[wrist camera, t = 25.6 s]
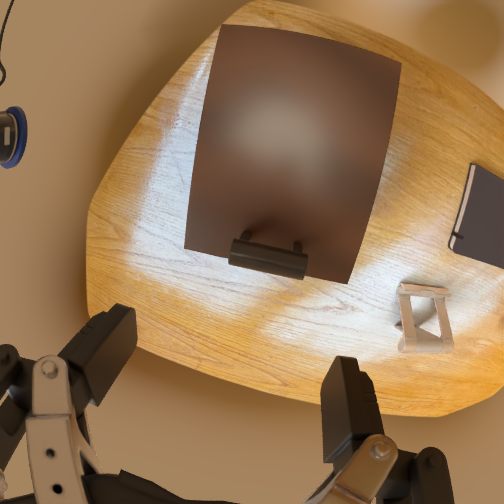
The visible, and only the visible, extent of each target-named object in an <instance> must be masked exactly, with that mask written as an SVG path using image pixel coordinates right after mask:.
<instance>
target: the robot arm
mask: <svg viewBox="0 0 504 504" xmlns="http://www.w3.org/2000/svg"><path fill="white" fill-rule="evenodd" d="M13 2H14V0H12V1H11V3H10V6H9V9H8V11H7V14H6V17H5V20H4V23H3V26H2V30H1V34H0V49H1V42H2V37H3V32H4V29H5V25H6V22H7V19H8V16H9V13H10V10H11V7H12V5H13ZM0 69H1V71H2V73H3V77H2V80H1V82H0V86H1V85H2V83H3V82H4V81H5V78H6V71H5V69H4V67H3V65H2V64H1V61H0ZM18 143H19V123H18V119H17V117H16V116H15V115H14V114H12V113H9V112H8V111H1V112H0V163H6V162H9V161H11V160H12V159H13V157H14V155H15V153H16V151H17V147H18ZM137 339H138V336H137V325H136V312H135V309H134V308H131V307H128V306H125V305H122V304H119V303H116V304H115V305H114V306H113V307H112V308H111V309H110V310H109V311H108V312H104V311H103V312H101V313H99V314H97V315H95V316H93V317H92V318H91V319H90V320H89V321H88V322H87V323H86V325H85V326H84V327H83V328H82V329H81V330H80V332H78V333H77V334H76V335H75V336H74V337H73V338H72V340H71V341H70V342H69V343H68V344H67V345H66V346H65V347H64V348H63V350H62V351H61V352H60V353H59V354H58V355H57V356H55V355H47V356H44V357H41V358H40V359H39V360H38V361H34V360H30V359H25V358H22V357H20V356H19V353H18V351H17V349H16V348H15V347H14V346H12V345H9V344H3V345H0V400H1V398H2V397H3V396H4V394H5V392H6V391H7V392H8V394H9V395H8V396H7V398H6V399H5V400H4V402H3V403H2V405H1V406H0V504H238V503H232V502H227V501H199V500H198V501H197V500H185V499H182V498H180V497H178V496H176V495H175V494H173V493H171V492H169V491H167V490H166V489H164V488H162V487H160V486H159V485H157V484H155V483H154V482H152V481H149V480H146V479H143V478H141V477H139V476H136V475H134V474H131V473H129V472H126V471H124V470H122V469H121V471H120V473H119V475H117V474H103V471H102V468H101V465H100V462H99V460H98V458H97V456H96V453H95V450H94V447H93V443H92V438H91V434H90V429H89V424H88V419H87V414H86V409H85V408H86V406H87V405H88V403H91V404H93V405H95V406H97V407H98V406H99V405H100V403H101V401H102V400H103V398H104V397H105V395H106V394H107V392H108V390H109V389H110V387H111V386H112V384H113V382H114V381H115V379H116V378H117V376H118V375H119V373H120V371H121V370H122V368H123V367H124V365H125V364H126V362H127V361H128V359H129V358H130V356H131V355H132V353H133V351H134V350H135V348H136V345H137ZM320 396H321V412H322V432H323V462H324V463H333V467H334V470H333V471H332V472H331V473H330V474H329V475H328V476H327V477H326V479H325V480H324V481H323V482H322V483H321V484H320V485H319V486H318V487H317V488H316V490H315V491H314V492H313V493H312V494H311V495H310V496H309V497H308V498H307V499H306V500H305V501H304V502H303V503H302V504H371V501H372V500H373V498H374V497H376V504H454V497H453V491H452V485H451V479H450V474H449V469H448V465H447V460H446V457H445V455H444V454H443V452H441V451H440V450H439V449H437V448H435V447H427V448H425V449H423V450H422V451H421V452H419V453H418V454H417V453H412V452H408V451H403V450H400V449H398V448H397V446H396V444H395V443H394V441H393V440H392V439H391V438H389V437H387V436H385V434H384V429H383V424H382V420H381V416H380V411H379V406H378V403H377V398H376V394H375V390H374V386H373V382H372V380H371V379H370V378H369V376H368V375H367V373H366V372H363V371H360V370H359V366H358V361H357V359H356V358H353V357H345V356H336V358H335V359H334V361H333V363H332V365H331V367H330V369H329V371H328V373H327V375H326V377H325V378H324V380H323V383H322V386H321V392H320ZM25 432H26V438H27V449H28V458H29V466H30V472H31V478H32V483H33V488H34V493H31V494H27V495H23V496H19V497H15V498H10V499H4V495H3V492H4V491H6V490H7V483H6V482H5V477H4V474H3V472H4V470H5V468H6V466H7V464H8V462H9V460H10V458H11V456H12V455H13V453H14V451H15V449H16V447H17V446H18V444H19V442H20V440H21V439H22V437H23V435H24V433H25Z"/></svg>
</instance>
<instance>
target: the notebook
mask: <svg viewBox="0 0 504 504" xmlns="http://www.w3.org/2000/svg"><path fill="white" fill-rule="evenodd" d="M448 247H449V248H450V249H451V250H453V252H454V253H456V254H460V255H463V256H466V257H469V258H472V259H475V260H478V261H482V262H485V263H488V264H491V265H494V266H497V267H500V268H502V269H504V180H503V179H501V178H499V177H498V176H496V175H494V174H493V173H491V172H489V171H487V170H486V169H484V168H482V167H480V166H478V165H476V164H472V163H470V168H469V173H468V177H467V182H466V186H465V190H464V194H463V198H462V201H461V205H460V209H459V212H458V216H457V219H456V222H455V225H454V228H453V231H452V234H451V237H450V240H449V244H448Z"/></svg>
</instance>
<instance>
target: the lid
mask: <svg viewBox="0 0 504 504" xmlns="http://www.w3.org/2000/svg"><path fill="white" fill-rule="evenodd" d="M400 72H401V63H400V62H398V61H395V60H393V59H390V58H388V57H385V56H382V55H379V54H377V53H374V52H371V51H368V50H365V49H362V48H359V47H355V46H352V45H349V44H345V43H341V42H338V41H334V40H330V39H326V38H322V37H317V36H313V35H308V34H303V33H298V32H292V31H286V30H279V29H272V28H264V27H255V26H244V25H227V24H222V25H221V28H220V32H219V36H218V40H217V44H216V48H215V53H214V57H213V61H212V66H211V70H210V75H209V80H208V85H207V90H206V95H205V100H204V105H203V110H202V116H201V122H200V127H199V133H198V140H197V146H196V152H195V159H194V166H193V173H192V180H191V188H190V196H189V205H188V213H187V223H186V233H185V243H184V249H188V250H192V251H197V252H201V253H206V254H210V255H214V256H219V257H223V258H228V264H229V265H234V266H238V267H243V268H247V269H252V270H256V271H261V272H265V273H270V274H274V275H279V276H283V277H288V278H293V279H297V280H303V278H304V276H309V277H314V278H319V279H323V280H328V281H333V282H337V283H342V284H348V281H349V278H350V275H351V273H352V270H353V267H354V264H355V261H356V258H357V255H358V252H359V249H360V246H361V243H362V240H363V237H364V234H365V231H366V228H367V224H368V221H369V218H370V214H371V211H372V207H373V204H374V200H375V197H376V193H377V189H378V185H379V181H380V177H381V173H382V169H383V165H384V161H385V157H386V152H387V148H388V143H389V138H390V133H391V128H392V123H393V118H394V112H395V106H396V100H397V94H398V87H399V80H400Z"/></svg>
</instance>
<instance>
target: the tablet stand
mask: <svg viewBox="0 0 504 504" xmlns="http://www.w3.org/2000/svg"><path fill="white" fill-rule="evenodd" d="M410 295H411V296H420V297H429V298H433V299H434V303H435V307H436V311H437V316H438V320H439V325H440V330H441V337H440V338H439V337H437V336H435V335H433V334H431V333H429V332H427V331H425V330H423V329H421V328H419V327H415V324H414V318H413V313H412V307H411V302H410ZM450 295H451V294H450V293H449V291H448V290H447V289H443V288H435V287H427V286H420V285H412V284H404V283H400V284H399V285H398V288H397V296H398V301H399V307H400V313H401V320H402V326H398V325H395V326H394V327H395V328H397V329H398V330H400V331H402V332H403V335H402V337H401V338H400V340H399V342H398V351H399V353H423V354H434V353H451V352H452V350H453V347H454V342H453V337H452V332H451V327H450V323H449V319H448V315H447V310H446V307H445V303H444V302H445V300H444V298H445V297H446V296H450Z"/></svg>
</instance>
